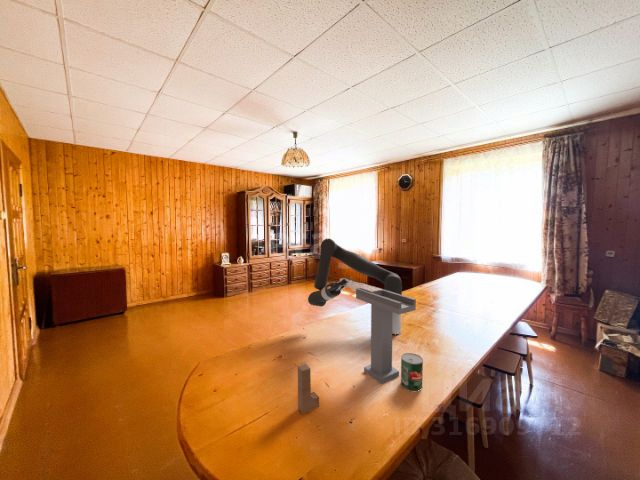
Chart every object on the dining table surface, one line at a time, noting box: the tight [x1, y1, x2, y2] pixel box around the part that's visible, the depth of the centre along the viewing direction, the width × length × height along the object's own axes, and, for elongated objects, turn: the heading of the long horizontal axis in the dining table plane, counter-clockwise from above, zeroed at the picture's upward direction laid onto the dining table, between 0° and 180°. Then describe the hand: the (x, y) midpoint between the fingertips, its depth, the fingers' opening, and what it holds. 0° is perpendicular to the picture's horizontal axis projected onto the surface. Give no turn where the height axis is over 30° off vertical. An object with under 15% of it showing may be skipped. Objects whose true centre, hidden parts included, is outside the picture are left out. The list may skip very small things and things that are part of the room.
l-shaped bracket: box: [297, 363, 320, 415], centre depth 89 cm, size 7×3×15 cm, turn 123°
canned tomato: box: [400, 352, 424, 392], centre depth 101 cm, size 8×8×11 cm
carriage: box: [339, 277, 383, 296], centre depth 119 cm, size 25×6×3 cm, turn 31°
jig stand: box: [355, 286, 417, 385], centre depth 107 cm, size 24×10×34 cm, turn 31°
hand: (348, 280), depth 126 cm, fingers closed on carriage, 2 cm apart
